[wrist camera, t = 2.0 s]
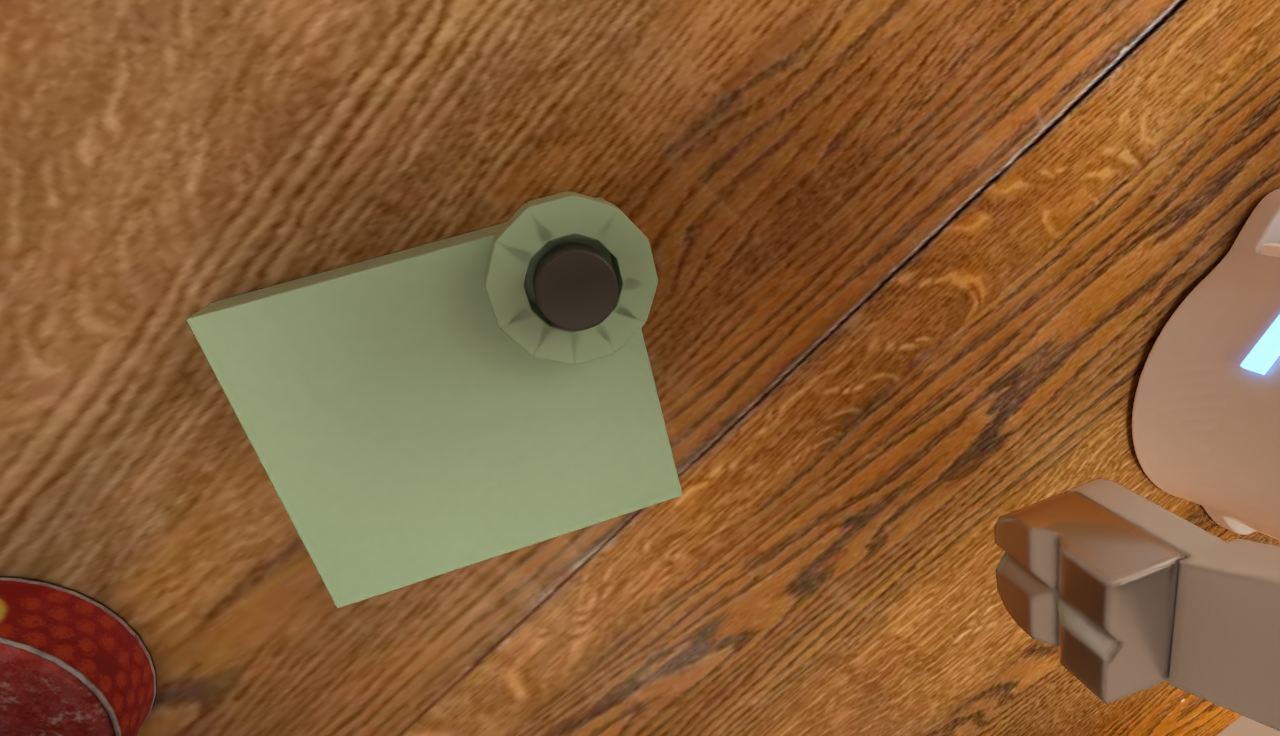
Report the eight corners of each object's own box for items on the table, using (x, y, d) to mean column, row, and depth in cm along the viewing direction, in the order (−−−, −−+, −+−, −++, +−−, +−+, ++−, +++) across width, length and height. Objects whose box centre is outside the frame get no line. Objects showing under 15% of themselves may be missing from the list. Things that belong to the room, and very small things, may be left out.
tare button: (600, 233, 22) (607, 240, 21) (619, 307, 23) (627, 318, 22) (522, 255, 22) (525, 263, 21) (545, 328, 23) (549, 341, 22)
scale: (615, 170, 25) (634, 177, 21) (686, 466, 29) (711, 508, 26) (199, 282, 23) (152, 308, 20) (347, 575, 28) (329, 635, 25)
